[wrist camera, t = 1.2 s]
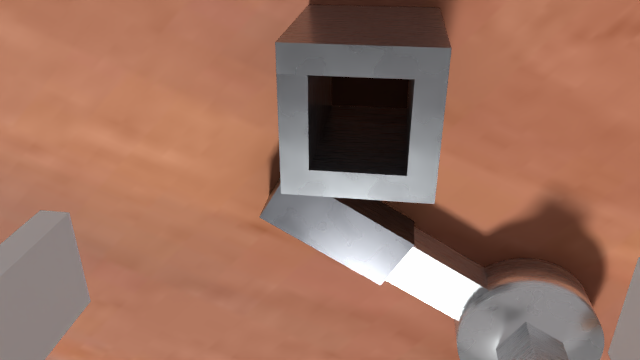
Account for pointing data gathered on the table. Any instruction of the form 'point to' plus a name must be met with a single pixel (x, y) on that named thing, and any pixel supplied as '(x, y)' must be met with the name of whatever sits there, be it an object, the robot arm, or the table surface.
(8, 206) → the table surface
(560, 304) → the ratchet
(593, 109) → the table surface
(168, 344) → the table surface
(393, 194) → the socket
